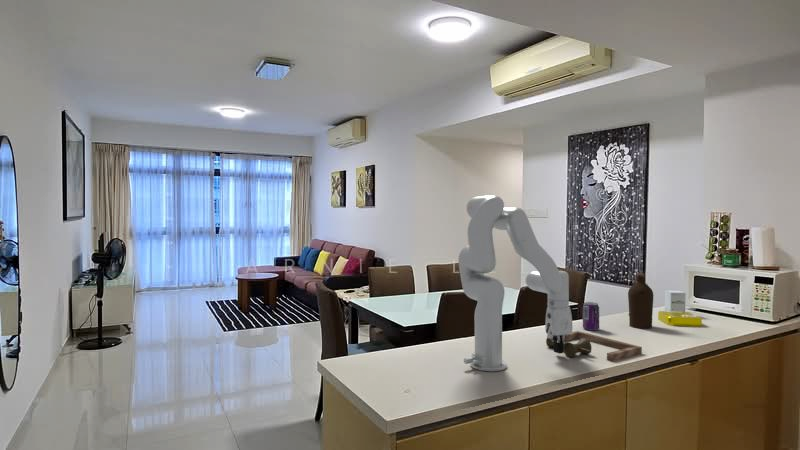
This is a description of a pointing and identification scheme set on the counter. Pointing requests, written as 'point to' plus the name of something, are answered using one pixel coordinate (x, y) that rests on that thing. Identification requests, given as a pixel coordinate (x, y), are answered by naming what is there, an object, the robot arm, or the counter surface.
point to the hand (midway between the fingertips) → (558, 352)
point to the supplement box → (674, 301)
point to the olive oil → (640, 304)
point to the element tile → (679, 318)
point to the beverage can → (591, 316)
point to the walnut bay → (624, 351)
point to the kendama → (573, 347)
